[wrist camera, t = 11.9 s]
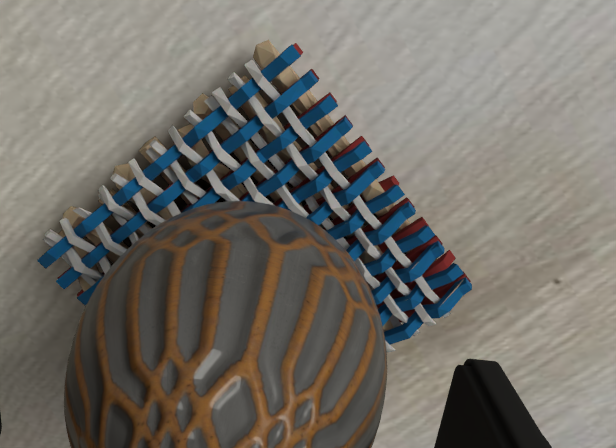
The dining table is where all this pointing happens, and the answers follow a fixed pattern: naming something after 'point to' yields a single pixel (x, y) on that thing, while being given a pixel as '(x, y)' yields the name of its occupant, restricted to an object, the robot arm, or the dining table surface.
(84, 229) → the woven mat
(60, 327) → the dining table surface
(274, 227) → the vase
